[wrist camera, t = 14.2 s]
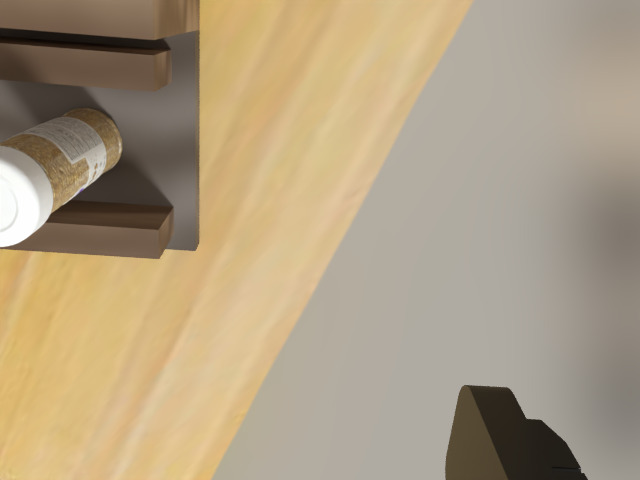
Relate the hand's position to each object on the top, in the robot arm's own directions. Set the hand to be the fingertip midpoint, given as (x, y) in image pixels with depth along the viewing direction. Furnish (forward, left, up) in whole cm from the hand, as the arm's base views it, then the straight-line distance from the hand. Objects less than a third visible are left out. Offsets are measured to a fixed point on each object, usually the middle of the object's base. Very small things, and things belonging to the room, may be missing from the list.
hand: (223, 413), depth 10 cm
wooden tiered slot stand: (+3, -13, -32) cm, 35 cm away
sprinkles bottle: (+3, -13, -31) cm, 34 cm away
